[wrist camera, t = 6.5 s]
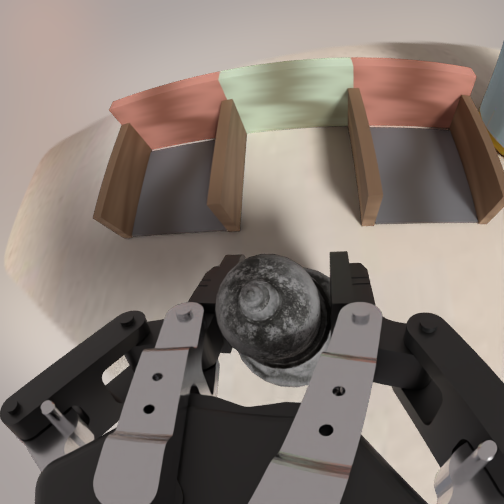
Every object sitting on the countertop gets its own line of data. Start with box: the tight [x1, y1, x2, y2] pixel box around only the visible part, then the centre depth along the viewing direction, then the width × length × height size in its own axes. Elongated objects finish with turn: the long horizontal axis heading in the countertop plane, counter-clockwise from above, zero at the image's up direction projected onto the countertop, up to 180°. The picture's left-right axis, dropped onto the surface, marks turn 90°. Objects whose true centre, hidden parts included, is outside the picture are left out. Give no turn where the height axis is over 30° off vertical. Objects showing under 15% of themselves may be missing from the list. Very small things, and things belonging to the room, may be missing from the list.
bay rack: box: [93, 57, 504, 238], centre depth 18 cm, size 27×10×6 cm, turn 87°
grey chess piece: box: [215, 254, 331, 387], centre depth 12 cm, size 6×6×12 cm
